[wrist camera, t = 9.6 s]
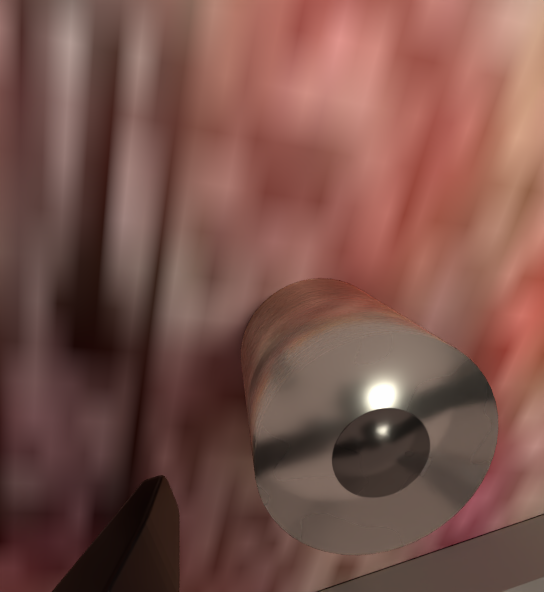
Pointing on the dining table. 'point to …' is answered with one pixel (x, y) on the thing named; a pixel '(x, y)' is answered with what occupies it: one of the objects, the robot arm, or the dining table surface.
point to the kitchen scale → (468, 566)
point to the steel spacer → (360, 419)
